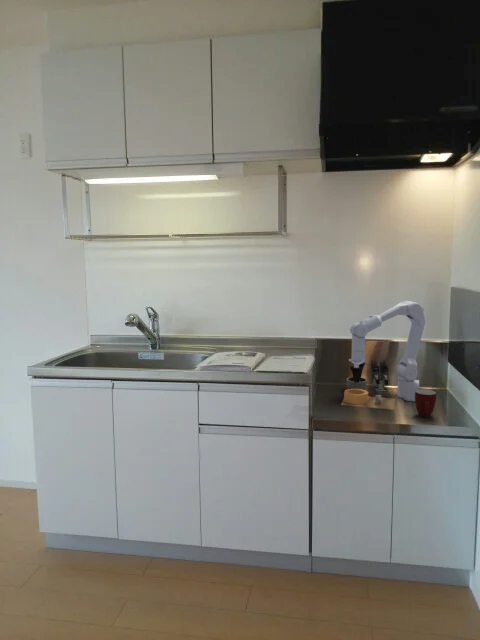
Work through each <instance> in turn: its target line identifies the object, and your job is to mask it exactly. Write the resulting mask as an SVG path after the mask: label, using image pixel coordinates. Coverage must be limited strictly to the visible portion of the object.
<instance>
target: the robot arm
mask: <svg viewBox="0 0 480 640" xmlns="http://www.w3.org/2000/svg"><path fill="white" fill-rule="evenodd" d="M424 310H425V309H424V307H423V306H422V305H421V304H420V303H419V302H414V301H410V300H408V299H407V300H403V301H402V302H398V303H397V304H396V305H394V306H392V307H391V308H388V309H387V310H386V311H384V312H382V313H381V314H379V315H378V314H369V315H368V316H369V317H367V318H364V319H360V321H359V322H355V323H353V324H352V325H351V326H350V328H349V330H350V333H351V358H349V359H348V362H351V363H352V365H350V366H349V368H350V371H351V373H352V377H353V379H354V382H356V383H359V381H360V378H362V377H363V376H362V375H363V369H364V368H365V365H366V360H365V359H366V358H365V357H366V336H367V335H368V333H370V332H371V331H373V330H375V329H378V328H380V327H381V326H382V323H384V322H386V321H387V320H390V319H392V318H394V317H397V316H405V317H407V318H408V320H409V321H410V322H411V326H410V330H409V334H408V337H407V341H406V346H405V349H404V352H403V356H402V357H401V358H400V359H399V361H398V362H399V363H398V364H397V365H396V368H395V372H396V374H397V376H398V377H397V397H399V398H402V399H403V401H407V402H415V391H416V390H419V389H420V380H419V379H416V378H417V377H418V373H419V372H418V362H417V357H418V352H419V349H420V346H421V340H422V336H423V333H424V328H425V326H426V318H425V313H424V312H425V311H424Z"/></svg>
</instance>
